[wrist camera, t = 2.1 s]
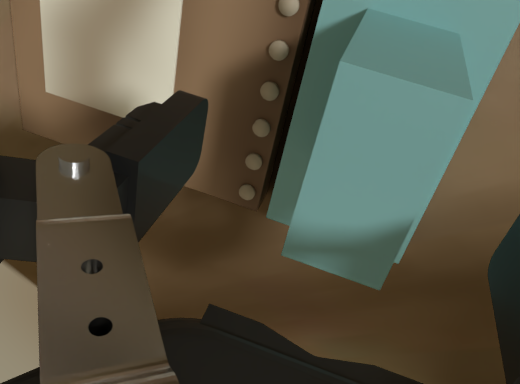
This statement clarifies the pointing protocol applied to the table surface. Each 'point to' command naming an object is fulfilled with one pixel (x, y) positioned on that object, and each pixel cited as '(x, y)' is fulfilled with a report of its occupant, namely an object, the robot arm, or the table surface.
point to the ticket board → (166, 75)
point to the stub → (381, 124)
